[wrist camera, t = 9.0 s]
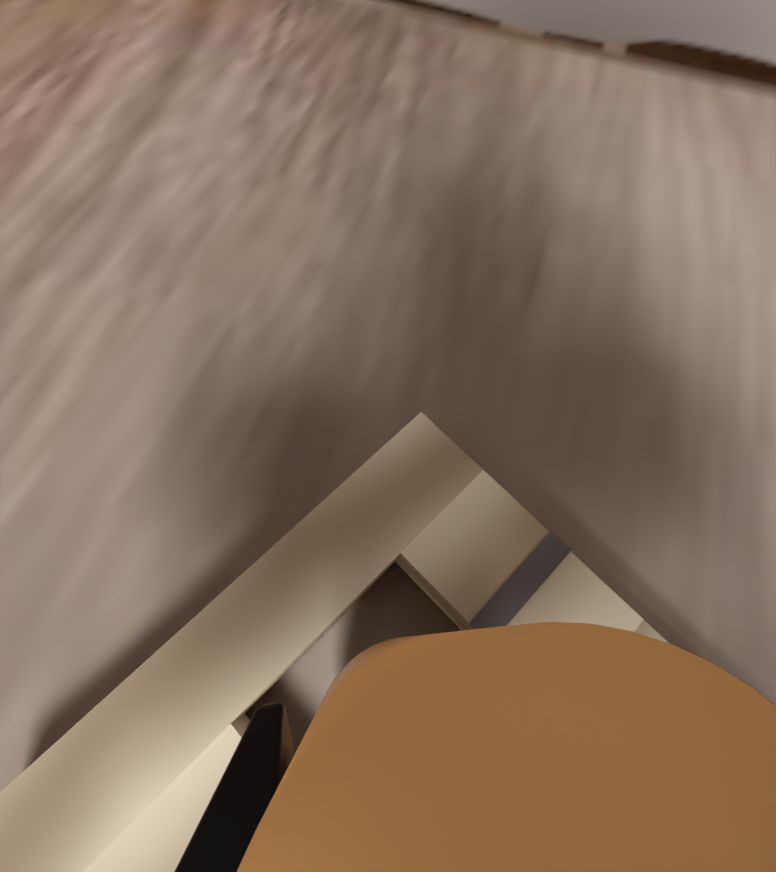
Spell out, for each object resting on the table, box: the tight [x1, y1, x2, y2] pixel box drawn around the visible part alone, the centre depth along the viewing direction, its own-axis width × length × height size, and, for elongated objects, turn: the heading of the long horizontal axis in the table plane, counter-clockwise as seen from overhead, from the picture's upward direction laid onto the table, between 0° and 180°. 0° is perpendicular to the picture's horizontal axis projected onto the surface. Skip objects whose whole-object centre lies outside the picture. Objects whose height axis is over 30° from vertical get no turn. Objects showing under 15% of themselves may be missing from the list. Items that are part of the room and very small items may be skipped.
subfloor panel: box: [0, 412, 668, 872], centre depth 14 cm, size 18×16×2 cm
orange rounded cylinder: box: [237, 622, 776, 872], centre depth 9 cm, size 4×4×12 cm
